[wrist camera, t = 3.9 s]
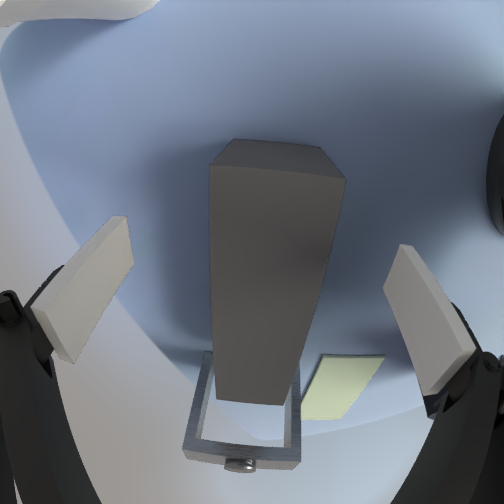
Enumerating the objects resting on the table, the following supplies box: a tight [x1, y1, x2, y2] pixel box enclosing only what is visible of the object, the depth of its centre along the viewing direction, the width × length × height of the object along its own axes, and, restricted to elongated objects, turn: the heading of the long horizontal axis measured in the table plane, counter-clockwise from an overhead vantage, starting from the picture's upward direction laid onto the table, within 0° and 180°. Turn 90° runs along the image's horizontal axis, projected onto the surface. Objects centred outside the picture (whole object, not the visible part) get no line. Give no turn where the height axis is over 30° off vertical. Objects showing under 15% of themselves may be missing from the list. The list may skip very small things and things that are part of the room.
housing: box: [182, 351, 301, 473], centre depth 26 cm, size 4×11×13 cm, turn 86°
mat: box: [301, 355, 385, 420], centre depth 34 cm, size 18×8×1 cm, turn 176°
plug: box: [209, 139, 346, 406], centre depth 21 cm, size 22×6×8 cm, turn 176°
